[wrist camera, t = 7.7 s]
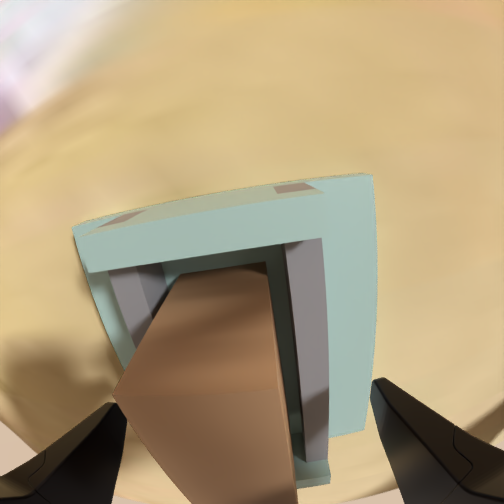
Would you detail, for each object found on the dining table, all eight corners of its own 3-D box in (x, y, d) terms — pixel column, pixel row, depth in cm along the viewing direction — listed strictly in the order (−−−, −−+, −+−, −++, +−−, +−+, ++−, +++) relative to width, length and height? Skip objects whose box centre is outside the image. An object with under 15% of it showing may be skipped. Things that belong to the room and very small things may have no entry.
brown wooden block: (265, 261, 10) (278, 388, 4) (288, 416, 12) (300, 526, 7) (180, 273, 10) (112, 394, 4) (226, 422, 13) (217, 529, 7)
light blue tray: (362, 173, 10) (417, 183, 6) (359, 417, 14) (377, 471, 10) (84, 221, 11) (22, 251, 7) (171, 436, 15) (158, 489, 11)
